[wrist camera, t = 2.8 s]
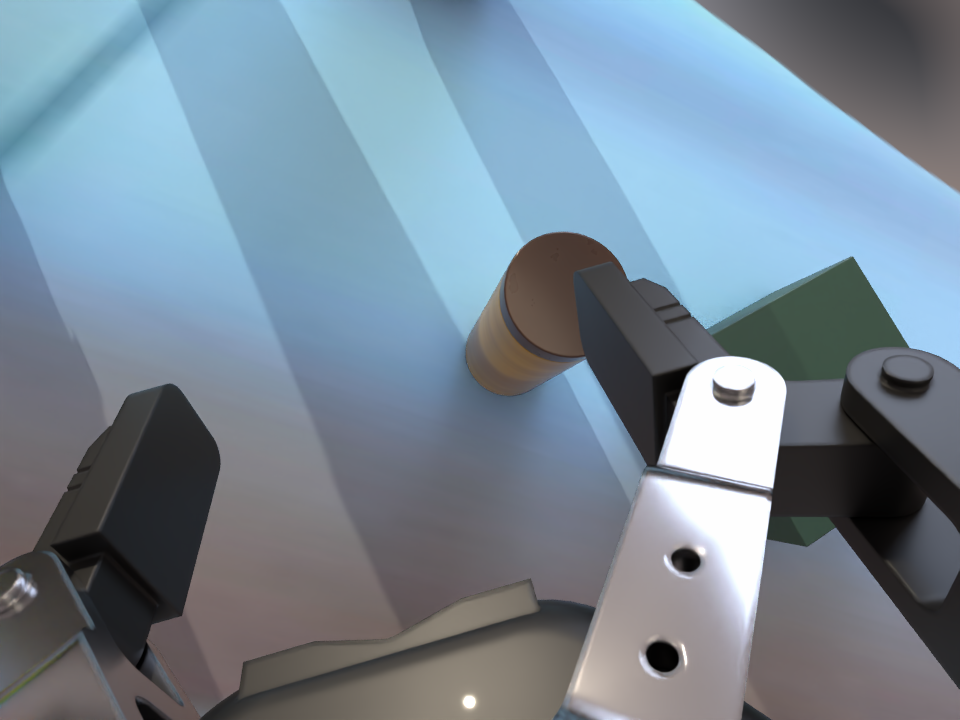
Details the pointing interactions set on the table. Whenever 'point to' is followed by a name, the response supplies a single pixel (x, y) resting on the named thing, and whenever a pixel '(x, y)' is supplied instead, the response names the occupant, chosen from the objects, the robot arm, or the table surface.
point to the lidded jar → (533, 315)
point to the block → (810, 346)
